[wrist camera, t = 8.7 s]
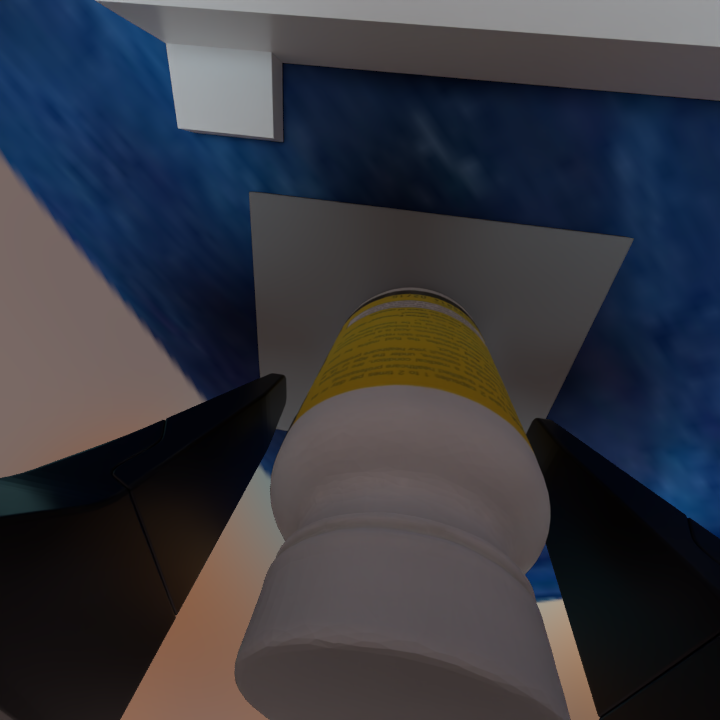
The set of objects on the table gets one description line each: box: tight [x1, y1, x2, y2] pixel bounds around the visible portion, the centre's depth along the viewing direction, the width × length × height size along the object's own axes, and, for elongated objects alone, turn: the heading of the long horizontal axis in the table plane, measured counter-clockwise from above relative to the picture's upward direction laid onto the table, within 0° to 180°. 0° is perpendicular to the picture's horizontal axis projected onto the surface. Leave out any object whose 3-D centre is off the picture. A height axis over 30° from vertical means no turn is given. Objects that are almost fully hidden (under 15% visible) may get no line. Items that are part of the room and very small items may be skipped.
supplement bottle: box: [235, 287, 571, 720], centre depth 8 cm, size 5×5×10 cm
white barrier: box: [95, 0, 720, 142], centre depth 7 cm, size 20×5×3 cm, turn 85°
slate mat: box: [249, 192, 634, 434], centre depth 13 cm, size 12×10×1 cm
